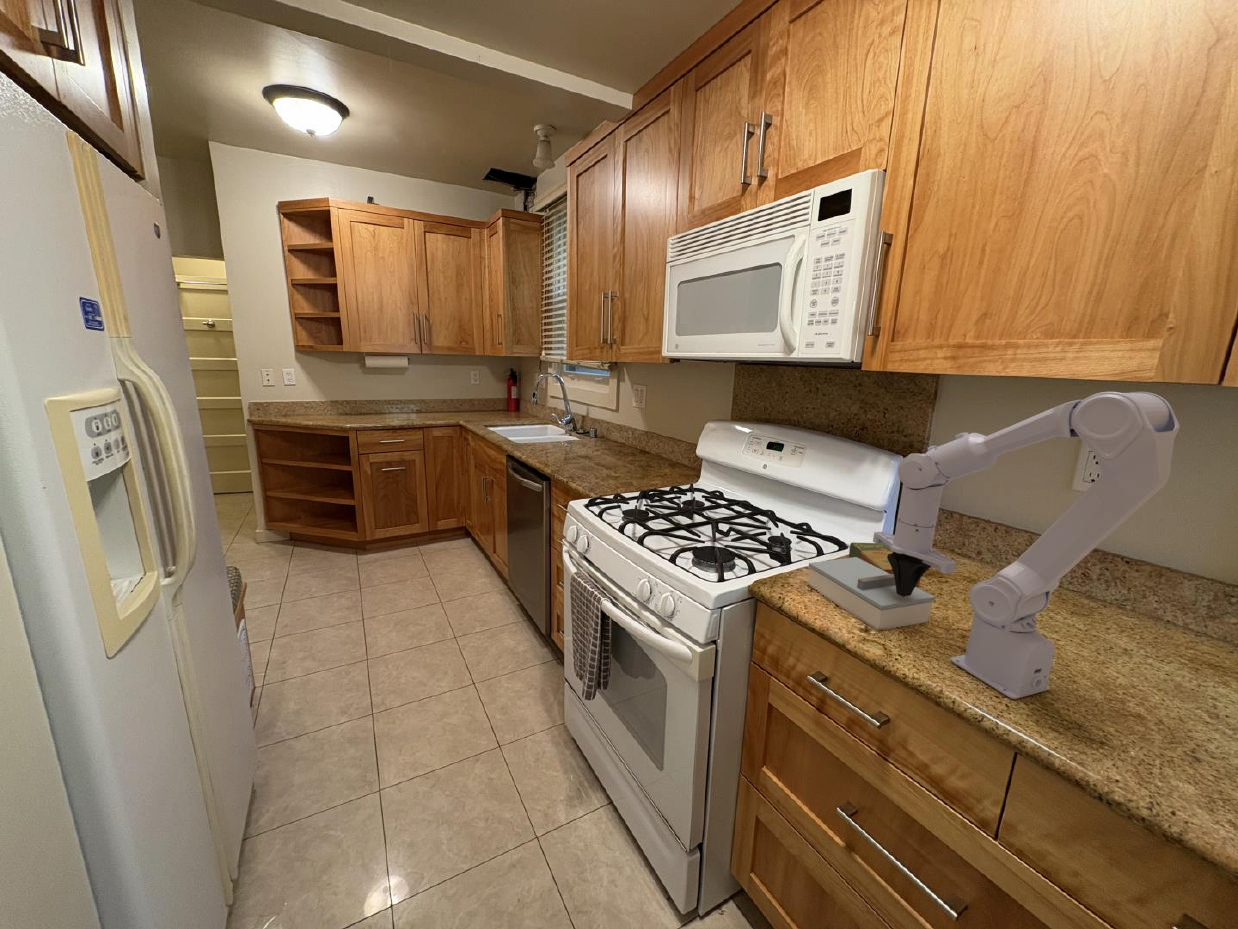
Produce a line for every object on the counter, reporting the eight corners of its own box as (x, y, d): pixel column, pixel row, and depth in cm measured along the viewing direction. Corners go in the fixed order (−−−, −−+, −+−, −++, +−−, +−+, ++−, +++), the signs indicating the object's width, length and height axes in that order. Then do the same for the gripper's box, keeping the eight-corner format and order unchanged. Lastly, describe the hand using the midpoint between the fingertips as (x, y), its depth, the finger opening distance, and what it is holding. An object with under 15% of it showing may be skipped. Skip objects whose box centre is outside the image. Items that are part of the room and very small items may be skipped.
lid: (934, 600, 87) (936, 588, 87) (881, 609, 83) (883, 596, 83) (855, 560, 104) (857, 549, 104) (808, 566, 100) (810, 555, 100)
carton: (879, 587, 102) (882, 568, 101) (847, 557, 118) (849, 540, 117) (919, 588, 102) (922, 570, 101) (881, 558, 118) (884, 541, 117)
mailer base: (928, 621, 88) (932, 601, 87) (877, 631, 84) (881, 610, 84) (853, 579, 105) (855, 561, 104) (807, 585, 101) (809, 567, 100)
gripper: (864, 510, 89) (854, 579, 92) (938, 539, 75) (923, 618, 78) (894, 508, 91) (883, 575, 94) (970, 535, 78) (955, 612, 80)
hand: (903, 594), depth 86 cm, fingers closed
